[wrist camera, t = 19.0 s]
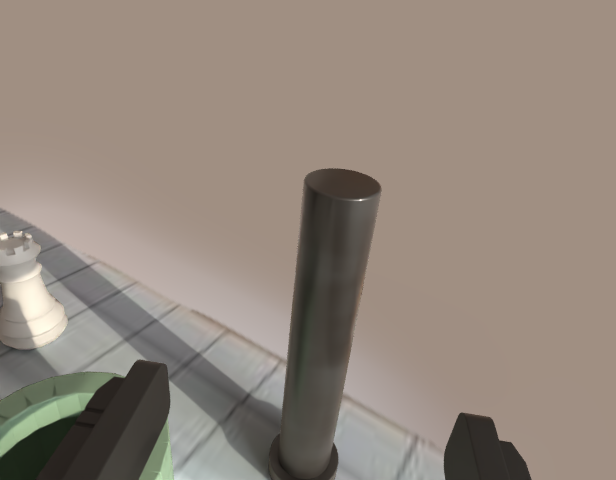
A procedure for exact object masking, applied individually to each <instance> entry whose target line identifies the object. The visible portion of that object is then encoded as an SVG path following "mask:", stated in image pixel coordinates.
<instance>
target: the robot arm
mask: <svg viewBox="0 0 616 480" xmlns="http://www.w3.org/2000/svg"><path fill="white" fill-rule="evenodd" d="M169 409H170V391H169V381H168V370H167V365H166V364H164V363H157V362H151V361H145V360H137V361H136V362H135V363H134V365H133V366H132V368H131V369H130V371H129V372H128V374H127V375H126V377H125V378H122V377H116V376H114V377H113V378H111V379H110V380H109V381H108V382H106V383H105V384H104V385H102V386H101V387H100V388H99V389H97V390H96V392H95V393H94V395H93V396H92V398H91V399H90V400H89V402H88V403H87V405H86V406H85V410H84V411H82V412H81V414H80V415H79V417H78V418H77V419H76V421H75V424H74V425H72V427H71V428H70V430H69V431H68V433H67V434H66V436H65V437H64V438H63V440H62V441H61V443H60V444H59V446H58V447H57V449H56V450H55V452H54V453H53V455H52V456H51V457H50V459H49V460H48V462H47V463H46V465H45V466H44V468H43V469H42V471H41V472H40V474H39V475H38V476H37V478H36V479H35V480H139V478H140V476H141V474H142V472H143V470H144V467H145V465H146V463H147V461H148V459H149V457H150V455H151V453H152V451H153V448H154V446H155V444H156V442H157V440H158V438H159V436H160V434H161V431H162V429H163V427H164V425H165V423H166V420H167V417H168V414H169ZM444 473H445V480H531V477H530V474H529V471H528V468H527V465H526V462H525V461H524V460H523V458H522V457H521V456H520V454H519V453H518V451H517V450H516V449H515V447H514V446H513V444H512V443H511V442H505V441H499V439H498V435H497V432H496V428H495V425H494V422H493V420H492V419H491V418H490V417H486V416H480V415H474V414H468V413H460V414H459V416H458V418H457V420H456V423H455V425H454V428H453V430H452V433H451V435H450V438H449V441H448V443H447V446H446V449H445V454H444Z"/></svg>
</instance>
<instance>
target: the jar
mask: <svg viewBox="0 0 616 480" xmlns="http://www.w3.org/2000/svg"><path fill="white" fill-rule="evenodd" d="M114 376H116V377H122V378H125V377H124V376H121V375H118V374H115V373H114V374H113V373H104V372H85V373H84V372H80V373H73V374H67V375H61V376H56V377H51V378H48V379H45V380H43V381H40V382H37V383H35V384H32V385H29V386H26V387H24V388H22V389H21V390H18V391H16V392H14V393H13V394H11V395H9V396H7V397H6V398H4V399H2V400H1V401H0V480H35V479H36V478H37V476H38V475H39V474H40V472H41V471H42V469H43V468H44V466H45V465H46V463H47V462H48V460H49V459H50V457H51V456H52V455H53V453H54V452H55V450H56V449H57V447H58V446H59V444H60V443H61V441H62V440H63V438H64V437H65V436H66V434H67V433H68V431H69V430H70V428H71V427H72V425H74V424H75V421H76V419H77V418H78V417H79V415H80V414H81V412H82V411H84V410H85V406H86V405H87V403H88V402H89V400H90V399H91V398H92V396H93V395H94V393H95V392H96V390H97V389H99V388H100V387H101V386H102V385H104V384H105V383H106V382H108V381H109V380H110V379H111V378H113V377H114ZM139 480H174V475H173V466H172V456H171V446H170V436H169V426H168V418H167V420H166V423H165V425H164V427H163V429H162V431H161V434H160V436H159V438H158V440H157V442H156V444H155V446H154V448H153V451H152V453H151V455H150V457H149V459H148V461H147V463H146V465H145V467H144V470H143V472H142V474H141V476H140V478H139Z"/></svg>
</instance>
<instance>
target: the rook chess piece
mask: <svg viewBox="0 0 616 480" xmlns="http://www.w3.org/2000/svg"><path fill="white" fill-rule="evenodd" d="M13 234H14V237H10V238H8V237H7V234H6V232H4V233H1V234H0V285H1V288H2V296H3V306H2V308H1V312H0V340H1V341H2V342H3V344H4V345H7V346H10V347H13V348H16V349H19V350H29V349H35V348H39V347H43V346H45V345H47V344H49V343H51V342H53V341H54V340H55V339H56V338H57V337H59V336H60V335H61V334H62V332H63V331H64V329H65V327H66V325H67V323H68V321H67V316H66V315H65V313H64V307H63V306H62V304H61V303H60V302H59V301H58V300H57V299H55V298H54V297H53V296H52V295H51V294H49V293H48V291H47V289H46V287H45V285H44V283H43V280H42V278H41V275H40V271H41V269H42V266H41V264H40V263H39V262H37V261H36V258H37V256H38V254H39V253H40V251H41V246H40V245H39V244H37V243H36V242H35V241H33V240H32V236H31V235H30V234H29V233H26V234H24V237H23V233H22V231H14V232H13Z"/></svg>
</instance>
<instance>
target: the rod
mask: <svg viewBox="0 0 616 480" xmlns="http://www.w3.org/2000/svg"><path fill="white" fill-rule="evenodd" d="M380 196H381V186H380V184H379V183H378V182H377V181H376V180H375V179H373V178H372V177H370V176H368V175H365V174H362V173H359V172H356V171H352V170H345V169H321V170H316V171H313V172H311V173H309V174H308V175H307V176H306V177H305V179H304V187H303V197H302V207H301V219H300V228H299V239H298V250H297V261H296V271H295V282H294V292H293V302H292V313H291V323H290V334H289V345H288V355H287V366H286V376H285V387H284V397H283V408H282V418H281V429H280V434H279V435H278V436H277V437H276V438H275V439H274V441H273V443H272V445H271V448H270V454H269V472H270V476H271V478H272V480H334V479H335V476H336V471H337V466H338V452H337V449H336V446H335V444H334V442H333V441H334V436H335V430H336V425H337V420H338V415H339V409H340V404H341V399H342V394H343V389H344V383H345V378H346V373H347V368H348V363H349V357H350V352H351V347H352V342H353V337H354V331H355V326H356V321H357V316H358V310H359V305H360V299H361V295H362V290H363V284H364V279H365V274H366V269H367V264H368V258H369V253H370V247H371V243H372V237H373V232H374V227H375V222H376V217H377V211H378V206H379V201H380Z"/></svg>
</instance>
